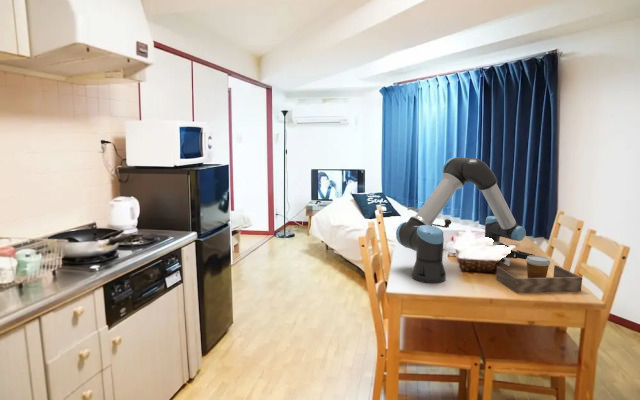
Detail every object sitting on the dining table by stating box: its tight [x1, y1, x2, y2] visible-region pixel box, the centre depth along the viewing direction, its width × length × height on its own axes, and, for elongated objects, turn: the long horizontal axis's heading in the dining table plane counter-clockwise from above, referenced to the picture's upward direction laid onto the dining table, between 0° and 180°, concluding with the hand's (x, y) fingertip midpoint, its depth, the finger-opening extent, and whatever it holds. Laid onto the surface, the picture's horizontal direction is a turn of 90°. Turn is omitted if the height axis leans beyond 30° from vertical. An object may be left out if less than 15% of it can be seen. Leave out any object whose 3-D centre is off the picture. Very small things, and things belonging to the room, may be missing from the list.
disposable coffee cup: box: [525, 254, 551, 278], centre depth 178 cm, size 10×10×12 cm
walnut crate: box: [495, 264, 583, 294], centre depth 178 cm, size 28×17×6 cm, turn 93°
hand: (523, 262), depth 189 cm, fingers open, 13 cm apart
